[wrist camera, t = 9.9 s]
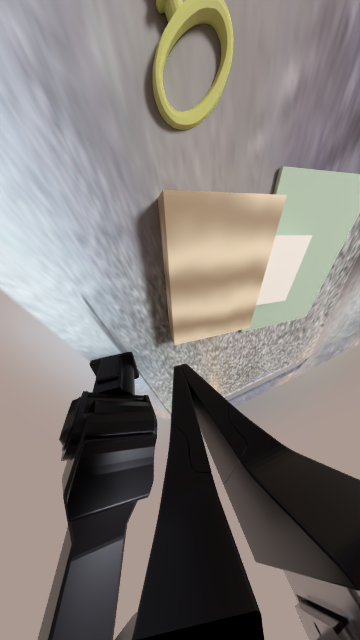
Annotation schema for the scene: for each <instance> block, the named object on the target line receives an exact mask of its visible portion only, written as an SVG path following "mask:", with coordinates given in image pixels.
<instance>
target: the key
mask: <svg viewBox="0 0 360 640" xmlns="http://www.w3.org/2000/svg"><path fill="white" fill-rule="evenodd" d="M156 7H157V10H158V12H159V13H160V14H162V13H165V15H166V18H167V21H168V25H167V27H166V28H165V30H164V32H163V34H162V36H161V38H160V41H159V43H158V46H157V49H156V53H155V59H154V64H153V93H154V97H155V102H156V104H157V107H158V109H159V112H160V114H161V116H162V118H163V119H164V120H165V121H166V122H167V124H169V125H170V126H171V127H173V128H175V129H179V130H187V129H192V128H194V127H196V126H197V125H198V124H200V123H201V122H202V121H203V120H204V119H205V118H206V117H207V116H208V115H209V114H210V113H211V111H212V110H213V109H214V107H215V106H216V104H217V102H218V100H219V99H220V96H221V94H222V91H223V89H224V86H225V83H226V80H227V77H228V74H229V70H230V66H231V62H232V55H233V29H232V23H231V18H230V14H229V11H228V8H227V5H226V4H225V2H224V0H186V1H185V2H184V3H183V2H182V0H156ZM198 24H210V25H211V26H212V27H213V28H214V29H215V31H216V32H217V35H218V37H219V40H220V43H221V61H220V66H219V70H218V72H217V75H216V77H215V80H214V82H213V84H212V86H211V88H210V89H209V91H208V93H207V94H206V96H205V97H204V98H203V99H202V100H201V101H200V102H199V103H198V104H197V105H196V106H195V107H193V108H192V109H190V110H188V111H184V112H179V111H176V110H174V109H173V108H172V107H171V106H170V104H169V103H168V101H167V99H166V96H165V92H164V88H163V81H162V74H163V70H164V66H165V63H166V60H167V57H168V55H169V53H170V51H171V49H172V48H173V46H174V44H175V43H176V42H177V40H178V39H179V38H180V37H181V36H182V35H183V34H184V33H185V32H186V31H187V30H189V29H190V28H191V27H193V26H195V25H198Z"/></svg>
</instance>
